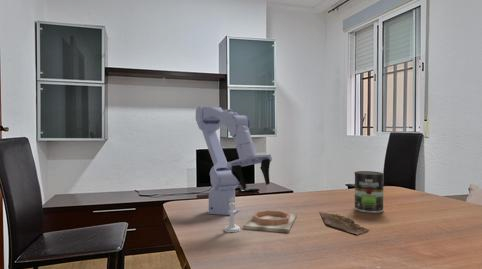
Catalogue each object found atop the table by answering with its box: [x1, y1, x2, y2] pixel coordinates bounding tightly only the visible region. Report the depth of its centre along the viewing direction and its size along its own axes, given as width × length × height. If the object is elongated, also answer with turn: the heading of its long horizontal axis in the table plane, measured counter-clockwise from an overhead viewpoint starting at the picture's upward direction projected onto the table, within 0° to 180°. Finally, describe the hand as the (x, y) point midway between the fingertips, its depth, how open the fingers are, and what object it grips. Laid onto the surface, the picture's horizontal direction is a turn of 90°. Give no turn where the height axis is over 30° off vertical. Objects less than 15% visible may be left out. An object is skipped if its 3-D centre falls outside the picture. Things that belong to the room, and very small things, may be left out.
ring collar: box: [252, 209, 291, 225], centre depth 104 cm, size 12×12×2 cm
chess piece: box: [223, 197, 241, 233], centre depth 97 cm, size 5×5×10 cm
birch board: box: [243, 211, 298, 234], centre depth 104 cm, size 14×18×1 cm
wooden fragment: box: [319, 212, 370, 236], centre depth 104 cm, size 26×11×1 cm, turn 7°
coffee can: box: [353, 170, 385, 214], centre depth 121 cm, size 10×10×14 cm
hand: (256, 186), depth 98 cm, fingers open, 7 cm apart
